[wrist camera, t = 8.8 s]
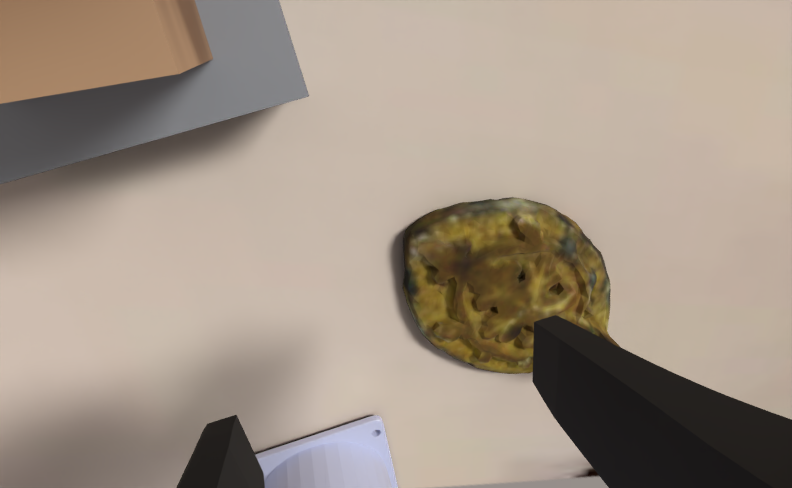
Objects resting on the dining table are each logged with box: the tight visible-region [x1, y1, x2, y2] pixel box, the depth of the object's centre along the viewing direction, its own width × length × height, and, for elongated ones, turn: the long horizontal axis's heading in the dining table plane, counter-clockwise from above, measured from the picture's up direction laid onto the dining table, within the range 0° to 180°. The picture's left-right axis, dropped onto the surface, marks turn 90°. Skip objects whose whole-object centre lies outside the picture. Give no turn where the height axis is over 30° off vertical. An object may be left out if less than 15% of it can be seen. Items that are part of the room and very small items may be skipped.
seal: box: [403, 198, 621, 374], centre depth 21 cm, size 9×5×15 cm
